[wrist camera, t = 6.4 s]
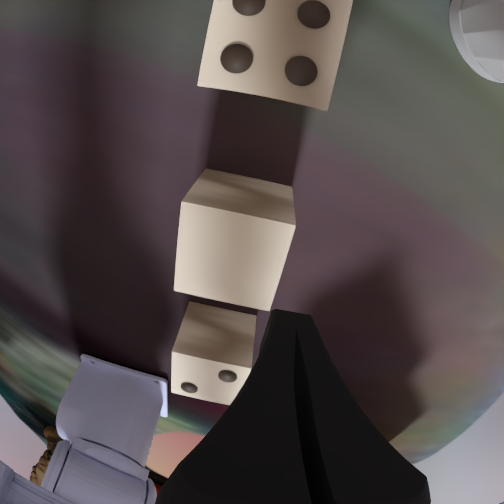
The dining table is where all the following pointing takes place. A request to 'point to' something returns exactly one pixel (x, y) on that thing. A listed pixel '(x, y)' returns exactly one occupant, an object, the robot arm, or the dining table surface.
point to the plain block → (234, 238)
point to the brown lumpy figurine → (45, 455)
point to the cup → (480, 35)
